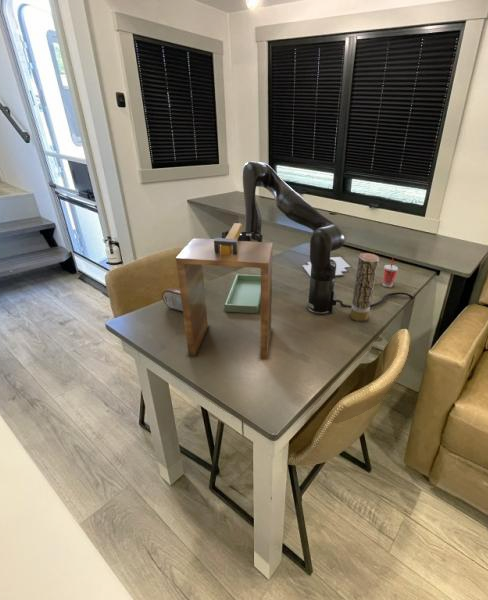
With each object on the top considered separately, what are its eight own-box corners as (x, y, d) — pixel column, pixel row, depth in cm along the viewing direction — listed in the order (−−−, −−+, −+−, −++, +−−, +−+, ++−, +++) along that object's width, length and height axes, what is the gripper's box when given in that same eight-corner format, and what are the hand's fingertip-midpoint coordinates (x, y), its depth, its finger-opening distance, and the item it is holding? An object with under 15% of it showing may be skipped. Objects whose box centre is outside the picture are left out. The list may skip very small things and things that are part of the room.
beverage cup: (393, 282, 156) (399, 255, 149) (394, 288, 150) (401, 260, 144) (380, 281, 156) (385, 253, 149) (381, 287, 151) (387, 258, 144)
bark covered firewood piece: (367, 323, 123) (379, 261, 111) (349, 320, 124) (358, 258, 112) (368, 314, 129) (379, 254, 117) (350, 311, 130) (360, 252, 118)
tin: (201, 312, 123) (199, 292, 118) (196, 316, 120) (194, 296, 116) (168, 303, 126) (164, 284, 122) (162, 307, 124) (159, 287, 120)
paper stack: (296, 259, 173) (296, 258, 173) (340, 256, 181) (340, 255, 180) (310, 278, 154) (310, 277, 154) (358, 274, 161) (359, 273, 161)
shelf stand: (271, 329, 116) (272, 231, 99) (267, 358, 102) (268, 250, 85) (202, 326, 115) (191, 226, 97) (188, 355, 101) (173, 244, 84)
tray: (236, 280, 148) (236, 274, 146) (264, 281, 148) (264, 275, 147) (225, 311, 124) (224, 304, 123) (257, 313, 125) (257, 306, 123)
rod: (242, 230, 109) (241, 223, 107) (229, 255, 89) (229, 246, 88) (234, 230, 108) (234, 223, 107) (220, 254, 89) (220, 246, 88)
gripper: (228, 232, 128) (219, 222, 111) (265, 234, 128) (261, 224, 112) (227, 251, 128) (218, 244, 111) (264, 253, 128) (260, 246, 112)
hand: (239, 234), depth 112 cm, fingers open, 8 cm apart
